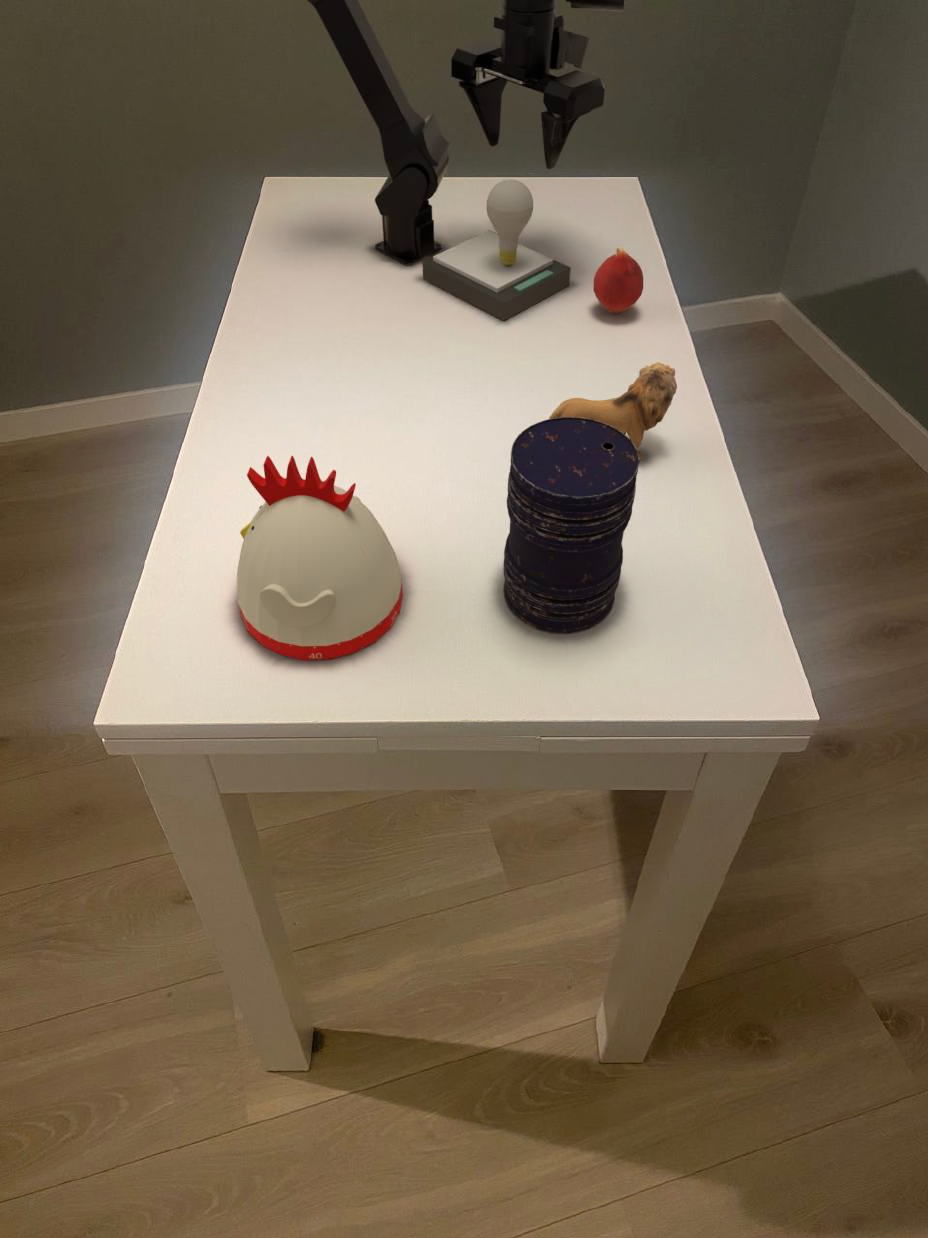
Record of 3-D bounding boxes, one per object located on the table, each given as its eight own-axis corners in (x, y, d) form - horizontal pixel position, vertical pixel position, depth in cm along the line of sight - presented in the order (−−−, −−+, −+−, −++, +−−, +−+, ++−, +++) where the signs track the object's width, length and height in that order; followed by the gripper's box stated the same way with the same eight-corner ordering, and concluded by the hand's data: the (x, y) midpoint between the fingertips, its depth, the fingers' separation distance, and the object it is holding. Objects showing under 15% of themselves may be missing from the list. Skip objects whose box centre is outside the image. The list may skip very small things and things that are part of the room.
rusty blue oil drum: (532, 649, 77) (545, 512, 66) (483, 571, 83) (487, 434, 72) (637, 614, 80) (666, 477, 68) (582, 541, 86) (601, 404, 74)
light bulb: (515, 250, 116) (519, 167, 109) (538, 269, 113) (543, 185, 106) (477, 259, 115) (478, 176, 107) (498, 279, 112) (501, 195, 104)
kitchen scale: (422, 279, 118) (422, 256, 115) (488, 247, 123) (489, 225, 121) (503, 321, 111) (504, 297, 109) (569, 285, 117) (571, 262, 114)
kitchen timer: (263, 537, 86) (234, 399, 75) (412, 548, 85) (405, 410, 74) (222, 652, 76) (181, 515, 65) (388, 666, 76) (376, 529, 64)
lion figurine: (650, 424, 97) (665, 348, 91) (675, 454, 94) (692, 377, 87) (520, 454, 94) (525, 377, 87) (541, 486, 91) (548, 408, 84)
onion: (638, 301, 114) (648, 237, 108) (639, 326, 110) (649, 261, 104) (590, 298, 115) (597, 235, 109) (590, 323, 111) (597, 258, 105)
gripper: (645, 7, 99) (625, 160, 111) (516, -28, 108) (510, 117, 119) (576, 31, 94) (564, 188, 105) (447, -8, 103) (448, 141, 114)
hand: (521, 156), depth 111 cm, fingers open, 9 cm apart
